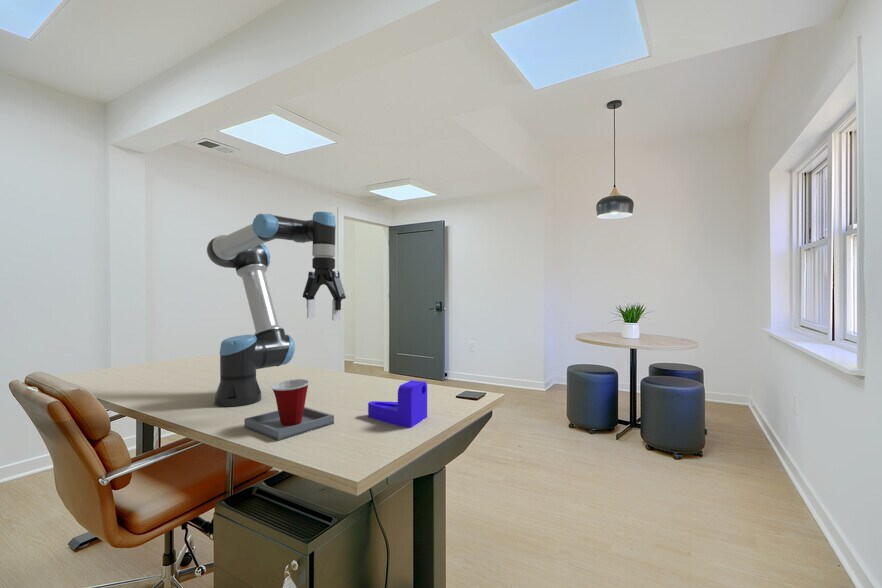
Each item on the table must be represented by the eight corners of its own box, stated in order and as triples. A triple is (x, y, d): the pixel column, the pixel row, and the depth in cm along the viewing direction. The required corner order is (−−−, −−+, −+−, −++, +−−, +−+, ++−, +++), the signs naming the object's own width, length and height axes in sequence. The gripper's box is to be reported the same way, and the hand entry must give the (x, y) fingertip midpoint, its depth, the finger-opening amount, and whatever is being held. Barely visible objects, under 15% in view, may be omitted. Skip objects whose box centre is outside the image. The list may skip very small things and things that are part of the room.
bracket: (427, 417, 129) (427, 380, 129) (411, 428, 119) (411, 387, 119) (378, 411, 136) (378, 375, 136) (359, 420, 126) (359, 382, 126)
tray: (244, 427, 119) (244, 418, 119) (299, 412, 133) (299, 405, 133) (278, 440, 108) (278, 431, 108) (334, 423, 122) (334, 415, 122)
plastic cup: (265, 422, 121) (265, 382, 121) (300, 415, 129) (300, 377, 128) (279, 431, 113) (279, 388, 113) (316, 423, 121) (316, 382, 120)
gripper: (356, 256, 136) (356, 320, 136) (310, 259, 151) (310, 316, 151) (339, 255, 130) (338, 321, 130) (292, 258, 145) (292, 317, 145)
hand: (323, 319), depth 141 cm, fingers open, 13 cm apart
